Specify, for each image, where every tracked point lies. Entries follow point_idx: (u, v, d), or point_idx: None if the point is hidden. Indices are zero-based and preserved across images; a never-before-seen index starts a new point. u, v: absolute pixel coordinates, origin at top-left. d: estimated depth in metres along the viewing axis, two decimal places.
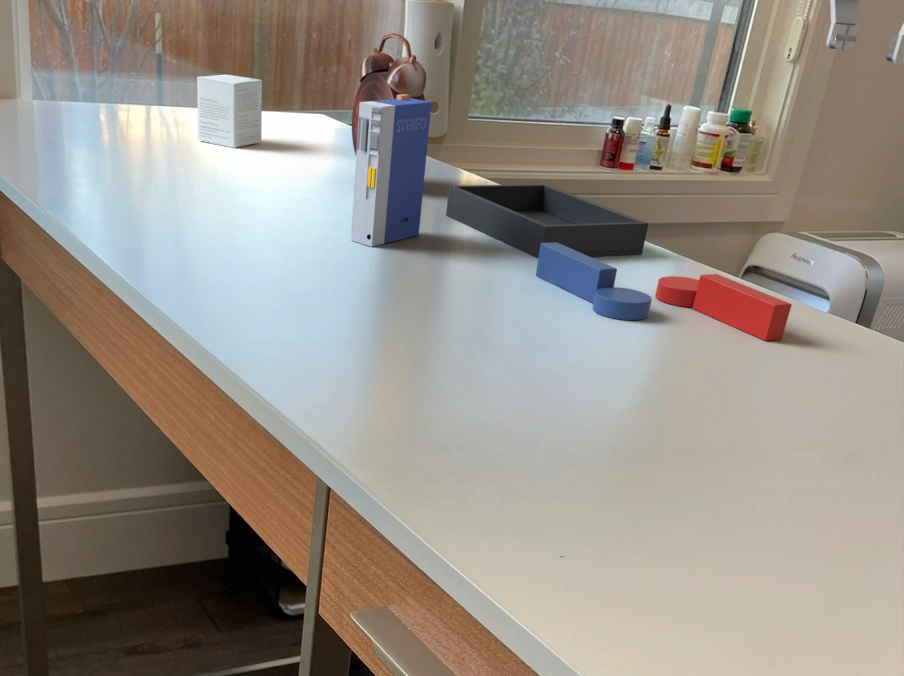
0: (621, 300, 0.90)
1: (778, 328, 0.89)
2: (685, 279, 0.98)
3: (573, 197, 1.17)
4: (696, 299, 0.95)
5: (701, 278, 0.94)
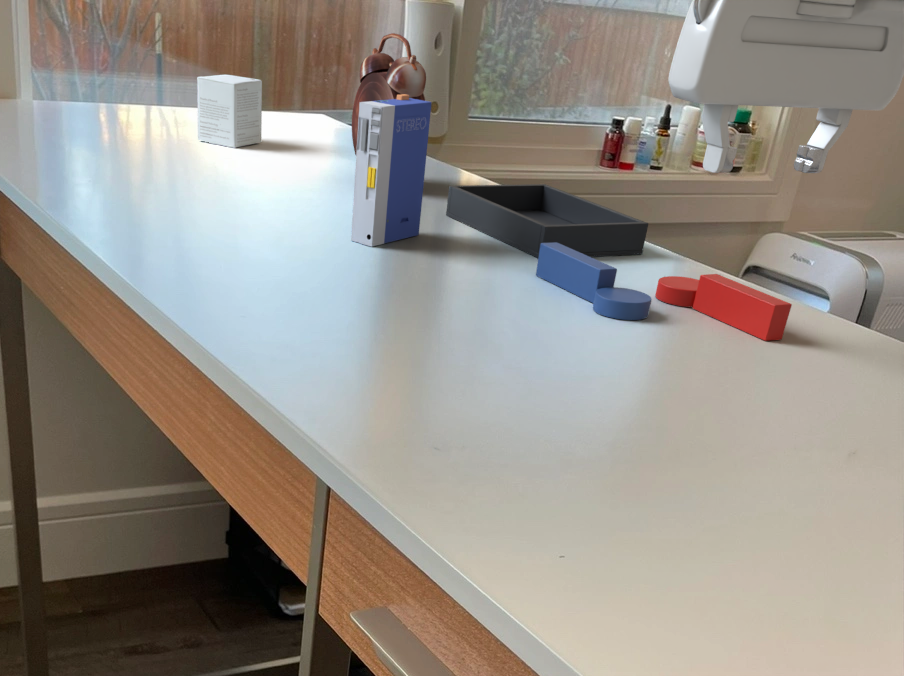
0: (621, 300, 0.90)
1: (778, 328, 0.89)
2: (685, 279, 0.98)
3: (573, 197, 1.17)
4: (696, 299, 0.95)
5: (701, 278, 0.94)
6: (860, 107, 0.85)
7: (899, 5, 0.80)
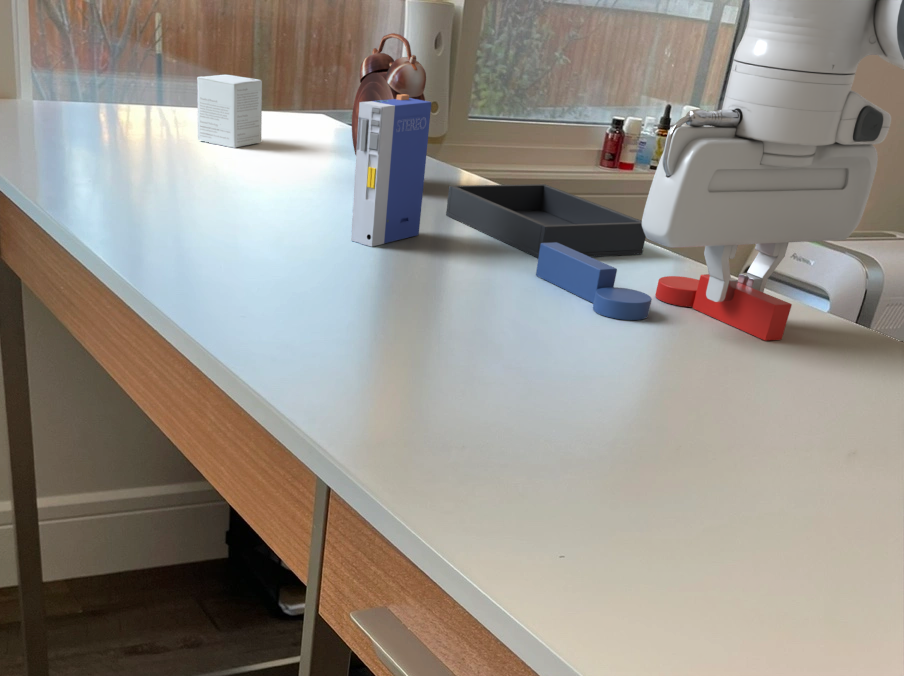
0: (621, 300, 0.90)
1: (777, 328, 0.89)
2: (685, 279, 0.98)
3: (573, 197, 1.17)
4: (696, 299, 0.95)
5: (701, 278, 0.94)
6: (824, 239, 0.91)
7: (857, 150, 0.86)
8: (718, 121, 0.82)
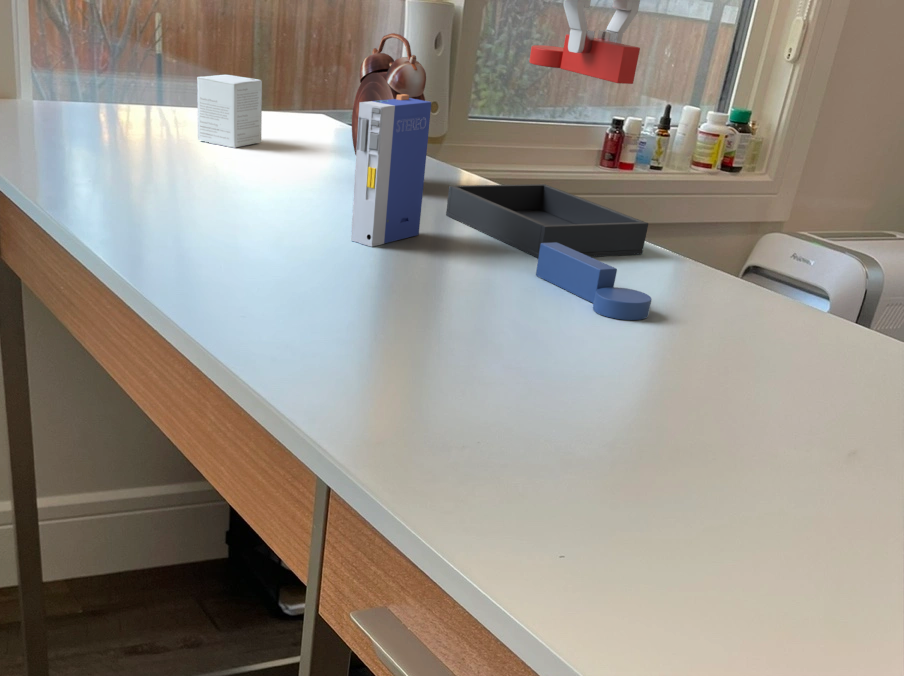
0: (621, 300, 0.90)
1: (628, 71, 0.98)
2: (557, 47, 1.07)
3: (573, 197, 1.17)
4: (563, 59, 1.04)
5: (566, 37, 1.03)
6: None
7: None
8: None
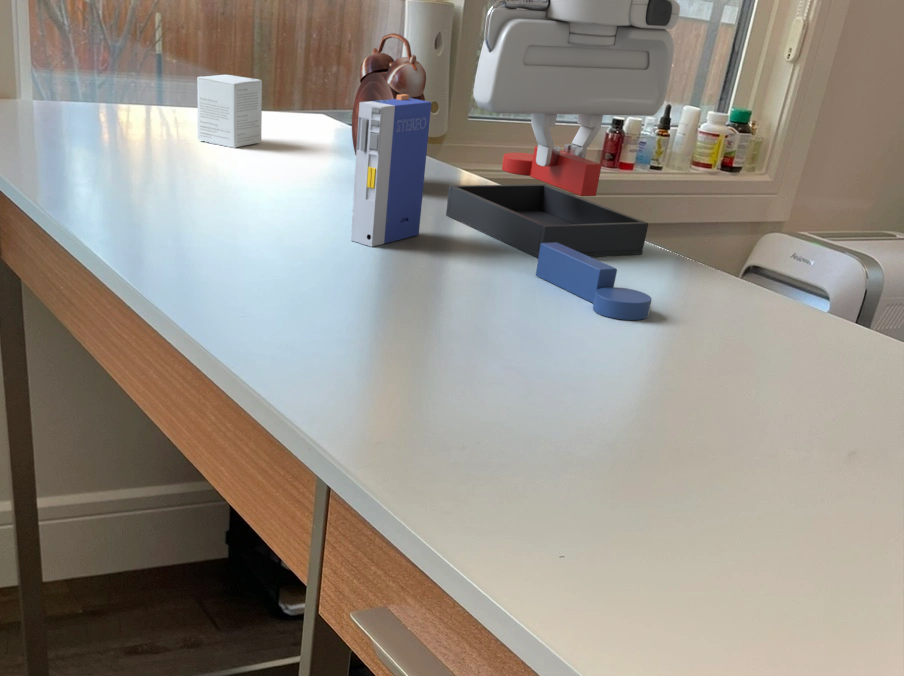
0: (621, 300, 0.90)
1: (591, 185, 1.06)
2: (527, 154, 1.15)
3: (573, 197, 1.17)
4: (532, 168, 1.12)
5: (535, 149, 1.11)
6: (634, 113, 1.08)
7: (652, 34, 1.03)
8: (529, 4, 0.99)
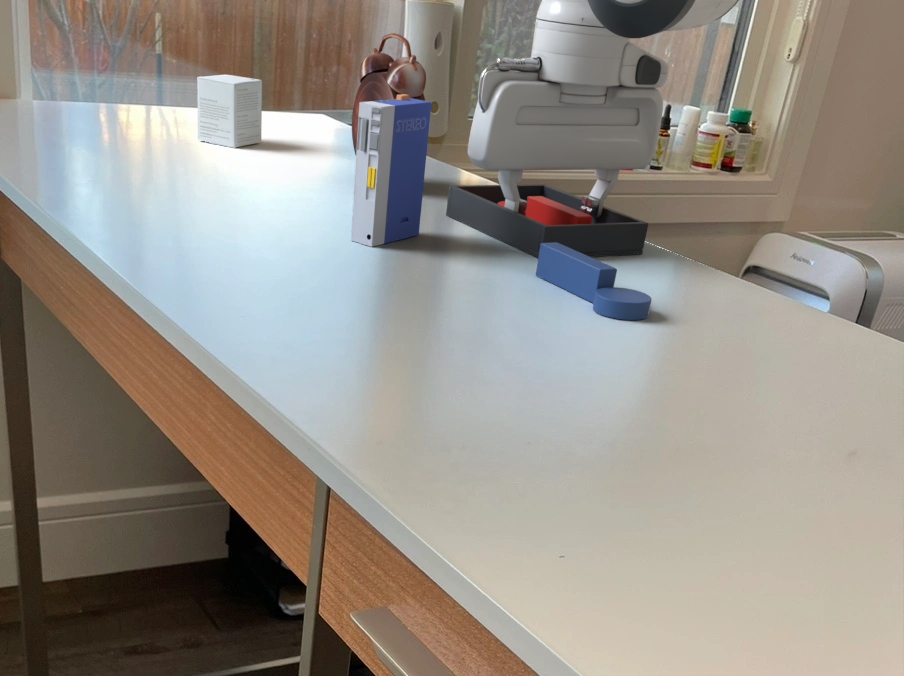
0: (621, 300, 0.90)
1: None
2: None
3: (573, 197, 1.17)
4: None
5: (528, 199, 1.14)
6: (624, 167, 1.11)
7: (642, 92, 1.06)
8: (521, 66, 1.02)
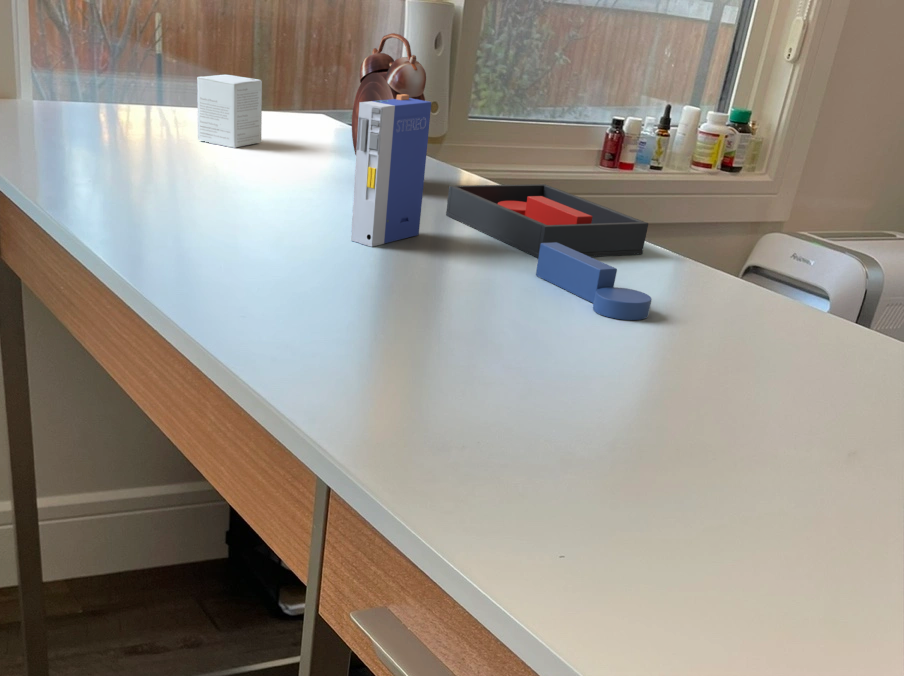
0: (621, 300, 0.90)
1: None
2: (521, 203, 1.18)
3: (573, 197, 1.17)
4: None
5: (528, 199, 1.14)
6: None
7: None
8: None
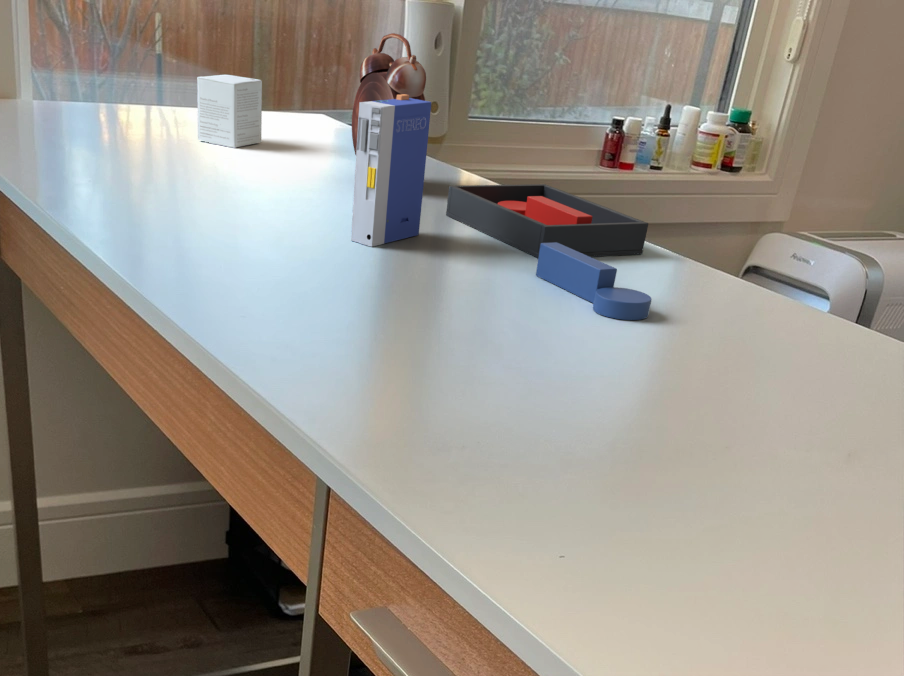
0: (621, 300, 0.90)
1: None
2: (521, 203, 1.18)
3: (573, 197, 1.17)
4: None
5: (528, 199, 1.14)
6: None
7: None
8: None
